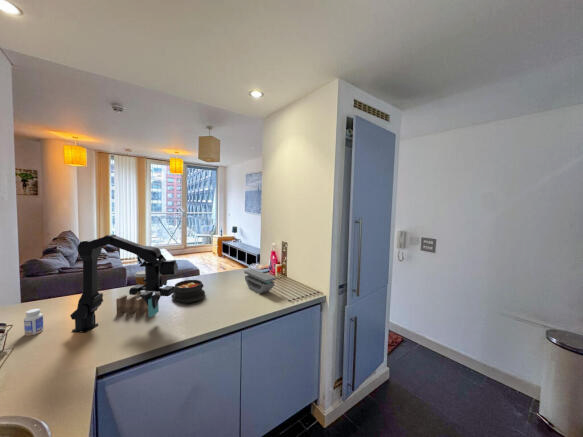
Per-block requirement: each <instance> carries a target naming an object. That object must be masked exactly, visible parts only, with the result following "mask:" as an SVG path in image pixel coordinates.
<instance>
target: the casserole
mask: <svg viewBox="0 0 583 437" xmlns="http://www.w3.org/2000/svg"><path fill="white" fill-rule="evenodd" d="M173 286H174V287H175V292H174V293H173V294H171V295H170V296H171V299H173V300H175V301H179V302H182V303H185V304H186V303H193V302H197V301H200V300H203V299H204V297H205V294H206V292H205V290H204V289H203V288H204V284H203V282H202V281H201V280H198V279H186V280H181V281H178V282H176V283H175V284H174V285H173Z"/></svg>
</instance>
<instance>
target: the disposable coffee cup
mask: <svg viewBox="0 0 583 437" xmlns="http://www.w3.org/2000/svg"><path fill="white" fill-rule="evenodd" d="M134 277H135V281H136V282H135V283H136V285H145V282H144V281H143V279H145V269H144V270H143V269H142V270H139V271H136V272H135V274H134Z"/></svg>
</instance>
